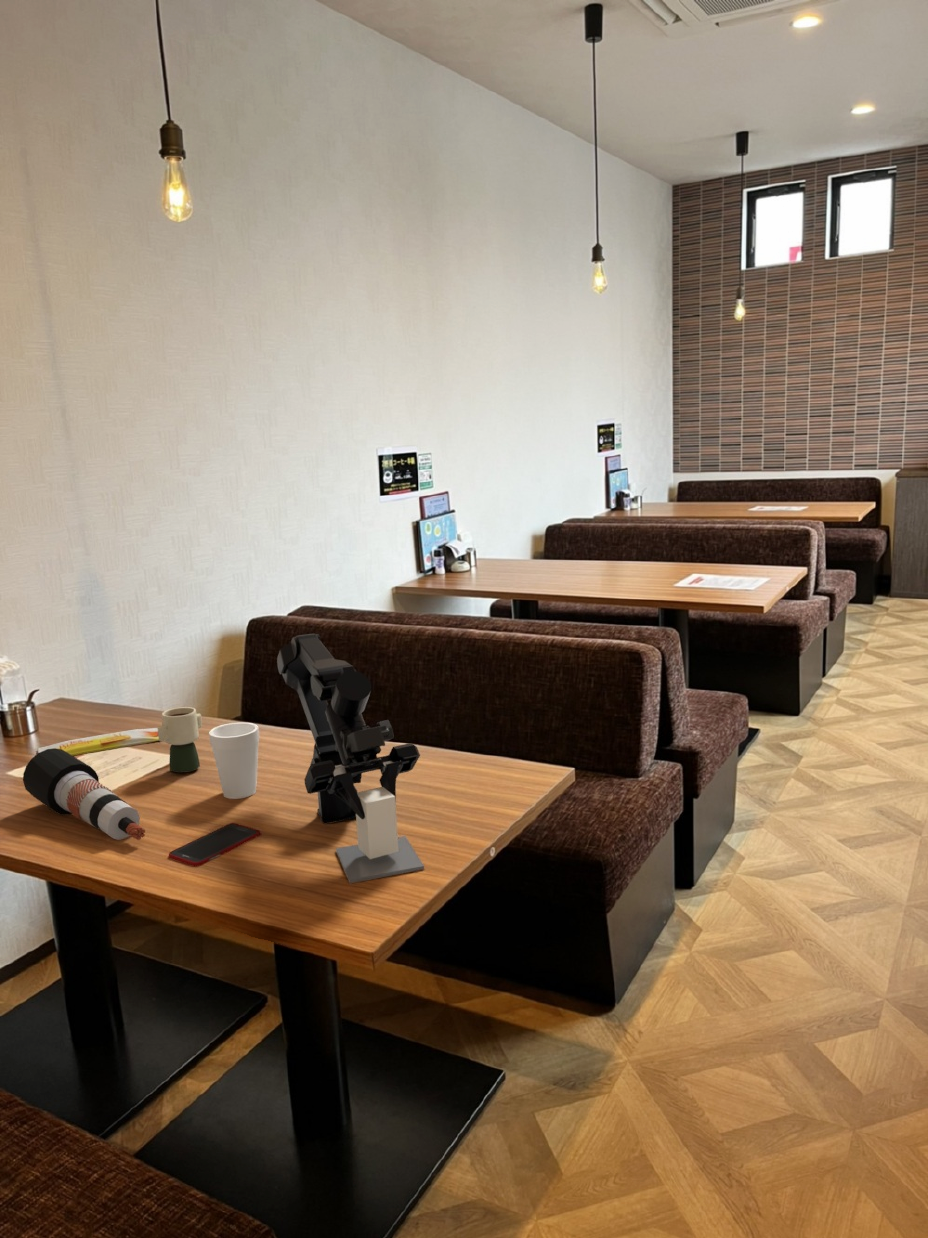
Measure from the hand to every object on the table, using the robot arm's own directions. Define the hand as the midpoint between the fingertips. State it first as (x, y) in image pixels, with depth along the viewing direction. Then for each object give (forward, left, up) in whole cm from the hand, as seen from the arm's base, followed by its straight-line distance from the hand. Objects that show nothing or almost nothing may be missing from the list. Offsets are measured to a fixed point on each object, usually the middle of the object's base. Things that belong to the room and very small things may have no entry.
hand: (378, 814), depth 150 cm
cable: (-46, +38, -9) cm, 60 cm away
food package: (-47, +85, -9) cm, 98 cm away
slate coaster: (0, +1, -8) cm, 9 cm away
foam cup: (-19, +41, -9) cm, 46 cm away
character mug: (-29, +59, -9) cm, 67 cm away
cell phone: (-25, +18, -9) cm, 32 cm away
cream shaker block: (0, +1, -7) cm, 7 cm away
